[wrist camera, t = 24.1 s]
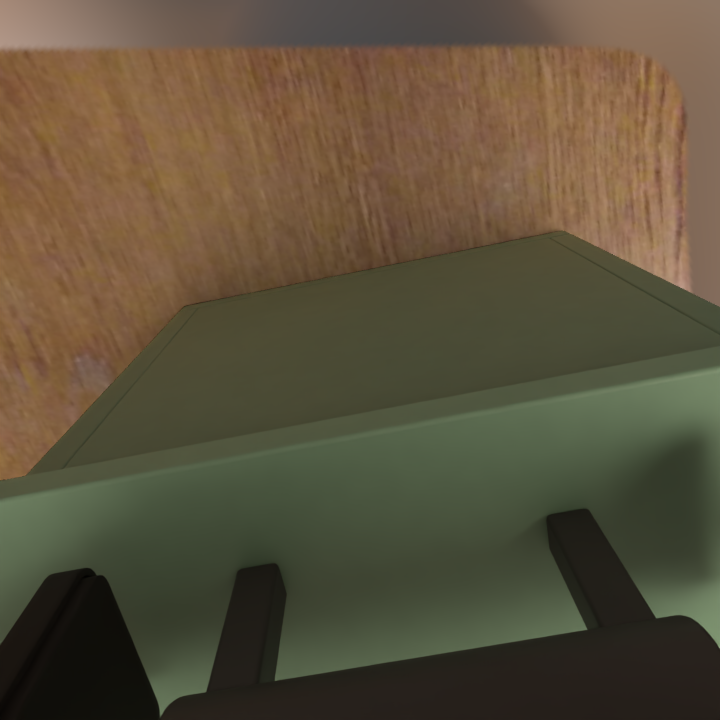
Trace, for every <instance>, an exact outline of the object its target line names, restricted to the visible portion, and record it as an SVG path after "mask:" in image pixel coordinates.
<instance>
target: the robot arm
mask: <svg viewBox="0 0 720 720" xmlns="http://www.w3.org/2000/svg"><path fill="white" fill-rule="evenodd" d="M159 719H160V709H159V704H158V701H157V698H156V696H155V694H154V691H153V689H152V686H151V684H150V681H149V679H148V677H147V674H146V672H145V669H144V667H143V664H142V662H141V660H140V657H139V655H138V652H137V650H136V648H135V645H134V643H133V640H132V638H131V635H130V633H129V631H128V628H127V626H126V623H125V621H124V619H123V616H122V614H121V611H120V609H119V606H118V604H117V602H116V599H115V597H114V594H113V592H112V589H111V587H110V585H109V582H108V581H107V579H106V578H105V577H104V576H103V575H96V573H95V572H94V571H93V570H92V569H91V568H81V569H76V570H70V571H64V572H59V573H53V574H51V575H49V576H48V577H47V578H46V579H45V580H44V581H43V583H42V584H41V586H40V587H39V588H38V590H37V591H36V593H35V594H34V596H33V597H32V599H31V600H30V602H29V603H28V605H27V606H26V608H25V609H24V611H23V612H22V614H21V615H20V616H19V618H18V619H17V621H16V622H15V624H14V625H13V627H12V628H11V630H10V631H9V633H8V634H7V636H6V637H5V639H4V640H3V642H2V643H1V645H0V720H159Z"/></svg>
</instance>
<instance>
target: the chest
mask: <svg viewBox="0 0 720 720" xmlns="http://www.w3.org/2000/svg"><path fill="white" fill-rule="evenodd" d="M718 346H720V307H719V306H717V305H715V304H712V303H710V302H708V301H706V300H704V299H702V298H700V297H698V296H696V295H694V294H692V293H690V292H688V291H686V290H684V289H682V288H680V287H678V286H676V285H674V284H672V283H670V282H668V281H666V280H664V279H662V278H660V277H658V276H655V275H653V274H651V273H649V272H647V271H645V270H643V269H641V268H639V267H637V266H635V265H633V264H631V263H629V262H627V261H625V260H623V259H621V258H619V257H617V256H615V255H613V254H611V253H609V252H607V251H605V250H603V249H601V248H598V247H596V246H594V245H592V244H590V243H588V242H586V241H584V240H582V239H580V238H578V237H576V236H574V235H572V234H569V233H567V232H565V231H559V232H554V233H549V234H544V235H539V236H534V237H529V238H524V239H519V240H514V241H509V242H504V243H499V244H494V245H489V246H484V247H479V248H474V249H469V250H464V251H459V252H454V253H449V254H444V255H439V256H434V257H429V258H424V259H419V260H414V261H409V262H404V263H399V264H394V265H389V266H384V267H379V268H374V269H369V270H364V271H359V272H354V273H349V274H344V275H339V276H334V277H329V278H324V279H319V280H314V281H309V282H304V283H299V284H294V285H289V286H284V287H279V288H274V289H269V290H264V291H259V292H254V293H249V294H244V295H239V296H234V297H229V298H224V299H219V300H214V301H209V302H204V303H199V304H194V305H189V306H185V307H183V308H182V309H181V310H180V311H179V312H178V313H177V314H176V315H175V317H174V318H173V319H172V320H171V321H170V322H169V323H168V324H167V325H166V326H165V327H164V328H163V329H162V330H161V331H160V333H159V334H158V335H157V336H156V337H155V338H154V339H153V340H152V341H151V342H150V343H149V344H148V345H147V346H146V348H145V349H144V350H143V351H142V352H141V353H140V354H139V355H138V356H137V357H136V358H135V359H134V360H133V361H132V363H131V364H130V365H129V366H128V367H127V368H126V369H125V370H124V371H123V372H122V373H121V374H120V375H119V376H118V377H117V379H116V380H115V381H114V382H113V383H112V384H111V385H110V386H109V387H108V388H107V389H106V390H105V391H104V392H103V394H102V395H101V396H100V397H99V398H98V399H97V400H96V401H95V402H94V403H93V404H92V405H91V406H90V407H89V409H88V410H87V411H86V412H85V413H84V414H83V415H82V416H81V417H80V418H79V419H78V420H77V421H76V422H75V423H74V425H73V426H72V427H71V428H70V429H69V430H68V431H67V432H66V433H65V434H64V435H63V436H62V437H61V438H60V440H59V441H58V442H57V443H56V444H55V445H54V446H53V447H52V448H51V449H50V450H49V451H48V452H47V453H46V455H45V456H44V457H43V458H42V459H41V460H40V461H39V462H38V463H37V464H36V465H35V466H34V467H33V468H32V469H31V471H30V472H29V473H28V474H27V475H26V476H28V475H34V474H39V473H44V472H50V471H55V470H60V469H66V468H71V467H76V466H82V465H87V464H92V463H98V462H103V461H108V460H114V459H119V458H124V457H130V456H135V455H140V454H146V453H151V452H156V451H162V450H167V449H173V448H178V447H183V446H189V445H194V444H199V443H205V442H210V441H215V440H221V439H226V438H231V437H237V436H242V435H247V434H253V433H258V432H263V431H269V430H274V429H279V428H285V427H290V426H295V425H301V424H306V423H312V422H317V421H322V420H328V419H333V418H338V417H344V416H349V415H354V414H360V413H365V412H370V411H376V410H381V409H386V408H392V407H397V406H402V405H408V404H413V403H418V402H424V401H429V400H434V399H440V398H445V397H450V396H456V395H461V394H467V393H472V392H477V391H483V390H488V389H493V388H499V387H504V386H509V385H515V384H520V383H525V382H531V381H536V380H541V379H547V378H552V377H557V376H563V375H568V374H573V373H579V372H584V371H589V370H595V369H600V368H606V367H611V366H616V365H622V364H627V363H632V362H638V361H643V360H648V359H654V358H659V357H664V356H670V355H675V354H680V353H686V352H691V351H696V350H702V349H707V348H712V347H718Z"/></svg>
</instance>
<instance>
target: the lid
mask: <svg viewBox="0 0 720 720" xmlns="http://www.w3.org/2000/svg"><path fill="white" fill-rule="evenodd" d="M81 568H91V569H92V570H93V571H94V572H95V573H96V575H103V576H104V577H105V578H106V579H107V581H108V582H109V585H110V587H111V589H112V592H113V594H114V597H115V599H116V602H117V604H118V606H119V609H120V611H121V614H122V616H123V619H124V621H125V623H126V626H127V628H128V631H129V633H130V635H131V638H132V640H133V643H134V645H135V648H136V650H137V652H138V655H139V657H140V660H141V662H142V664H143V667H144V669H145V672H146V674H147V677H148V679H149V681H150V684H151V686H152V689H153V691H154V694H155V696H156V698H157V701H158V704H159V709H160V719H159V720H720V346H718V347H712V348H707V349H702V350H696V351H691V352H686V353H680V354H675V355H670V356H664V357H659V358H654V359H648V360H643V361H638V362H632V363H627V364H622V365H616V366H611V367H606V368H600V369H595V370H589V371H584V372H579V373H573V374H568V375H563V376H557V377H552V378H547V379H541V380H536V381H531V382H525V383H520V384H515V385H509V386H504V387H499V388H493V389H488V390H483V391H477V392H472V393H467V394H461V395H456V396H450V397H445V398H440V399H434V400H429V401H424V402H418V403H413V404H408V405H402V406H397V407H392V408H386V409H381V410H376V411H370V412H365V413H360V414H354V415H349V416H344V417H338V418H333V419H328V420H322V421H317V422H312V423H306V424H301V425H295V426H290V427H285V428H279V429H274V430H269V431H263V432H258V433H253V434H247V435H242V436H237V437H231V438H226V439H221V440H215V441H210V442H205V443H199V444H194V445H189V446H183V447H178V448H173V449H167V450H162V451H156V452H151V453H146V454H140V455H135V456H130V457H124V458H119V459H114V460H108V461H103V462H98V463H92V464H87V465H82V466H76V467H71V468H66V469H60V470H55V471H50V472H44V473H39V474H34V475H28V476H23V477H18V478H12V479H7V480H1V481H0V645H1V643H2V642H3V640H4V639H5V637H6V636H7V634H8V633H9V631H10V630H11V628H12V627H13V625H14V624H15V622H16V621H17V619H18V618H19V616H20V615H21V614H22V612H23V611H24V609H25V608H26V606H27V605H28V603H29V602H30V600H31V599H32V597H33V596H34V594H35V593H36V591H37V590H38V588H39V587H40V586H41V584H42V583H43V581H44V580H45V579H46V578H47V577H48V576H49V575H51V574H53V573H59V572H64V571H70V570H76V569H81Z"/></svg>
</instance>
